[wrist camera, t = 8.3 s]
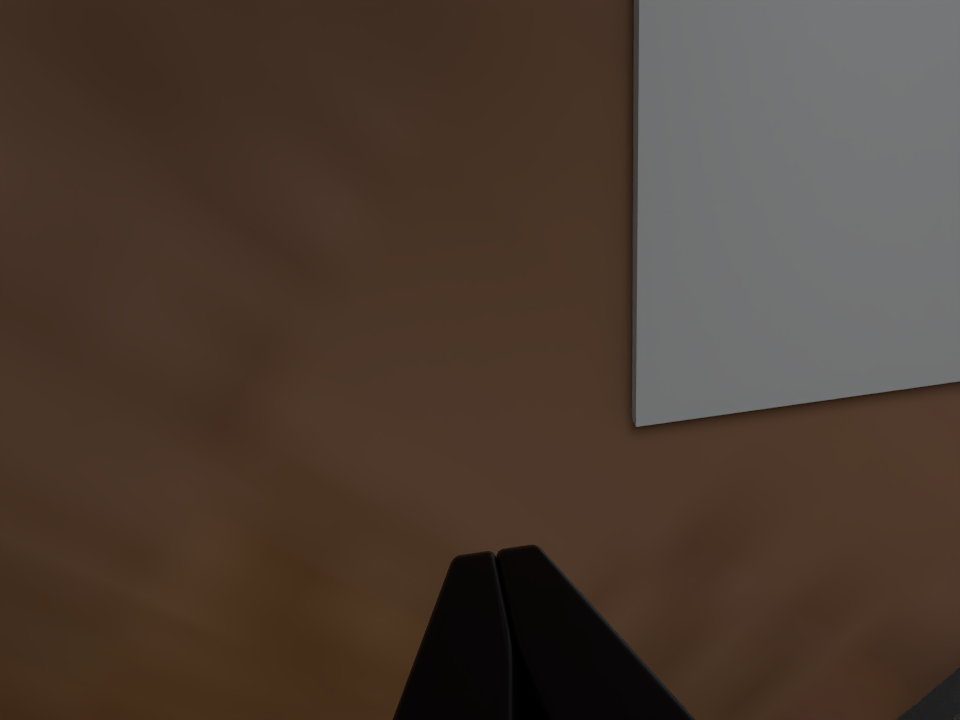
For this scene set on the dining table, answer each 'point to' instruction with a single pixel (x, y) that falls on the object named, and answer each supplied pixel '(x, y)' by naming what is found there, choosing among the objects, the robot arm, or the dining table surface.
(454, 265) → the dining table surface
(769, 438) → the dining table surface
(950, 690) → the ammunition clip
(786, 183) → the rubber mat
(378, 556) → the dining table surface
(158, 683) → the dining table surface
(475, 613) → the robot arm
